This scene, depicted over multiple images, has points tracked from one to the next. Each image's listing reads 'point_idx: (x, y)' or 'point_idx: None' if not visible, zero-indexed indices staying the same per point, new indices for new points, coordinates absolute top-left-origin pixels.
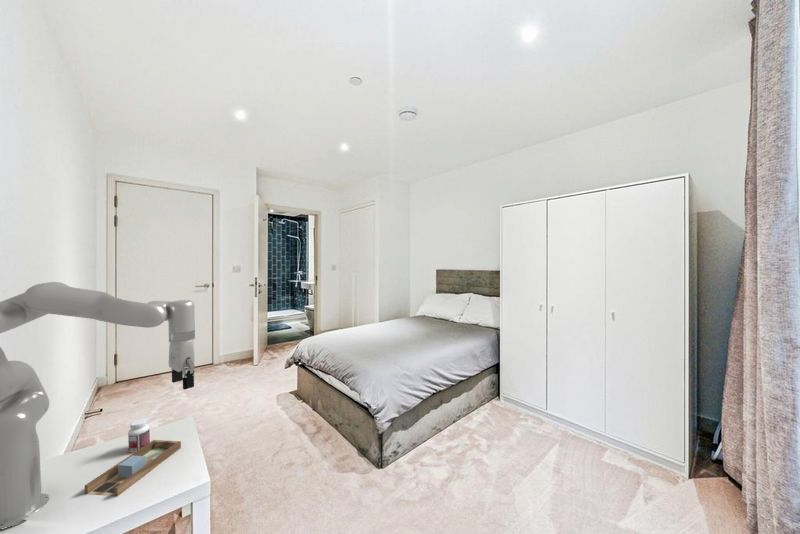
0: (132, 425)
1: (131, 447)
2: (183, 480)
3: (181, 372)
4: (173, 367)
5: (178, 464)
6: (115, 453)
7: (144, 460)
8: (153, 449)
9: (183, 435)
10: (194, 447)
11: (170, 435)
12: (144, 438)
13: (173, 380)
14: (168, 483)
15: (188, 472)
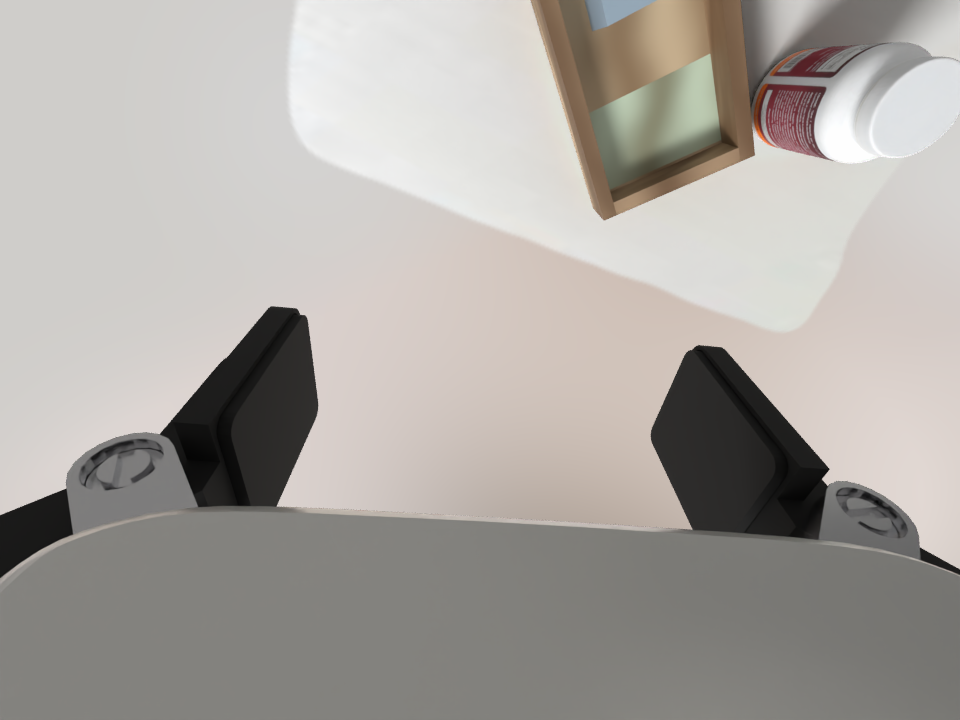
0: (924, 60)
1: (820, 51)
2: (358, 98)
3: (696, 519)
4: (531, 597)
5: (498, 148)
6: (908, 9)
7: (600, 18)
8: (712, 134)
9: (696, 272)
10: (560, 250)
11: (757, 244)
12: (792, 113)
13: (701, 368)
14: (391, 46)
15: (400, 141)
